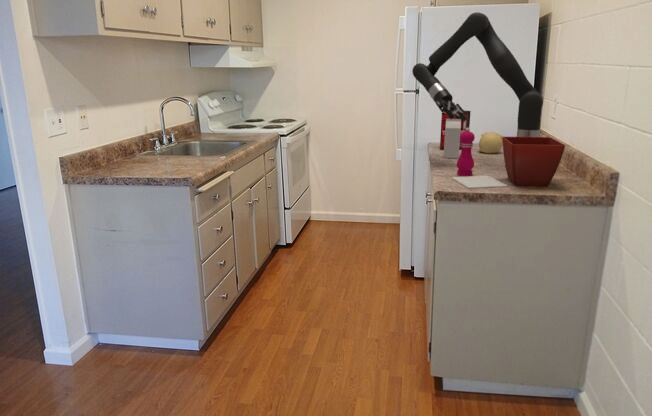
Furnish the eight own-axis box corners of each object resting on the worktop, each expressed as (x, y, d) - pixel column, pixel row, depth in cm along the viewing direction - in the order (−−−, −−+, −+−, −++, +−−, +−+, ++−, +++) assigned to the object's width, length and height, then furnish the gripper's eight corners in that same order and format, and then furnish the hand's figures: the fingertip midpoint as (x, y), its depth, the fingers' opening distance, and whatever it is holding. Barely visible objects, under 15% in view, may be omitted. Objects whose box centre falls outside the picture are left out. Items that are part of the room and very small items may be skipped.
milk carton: (458, 158, 249) (461, 119, 244) (443, 158, 251) (446, 119, 245) (458, 155, 256) (460, 118, 250) (443, 155, 257) (445, 118, 252)
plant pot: (560, 189, 190) (566, 144, 185) (508, 187, 192) (512, 144, 188) (546, 177, 208) (550, 136, 203) (498, 176, 211) (501, 136, 206)
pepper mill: (470, 177, 210) (474, 129, 204) (453, 175, 214) (456, 128, 208) (475, 173, 216) (479, 127, 210) (458, 172, 219) (462, 126, 214)
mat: (450, 178, 209) (450, 177, 209) (487, 176, 211) (487, 175, 211) (468, 188, 192) (468, 187, 192) (507, 186, 194) (508, 185, 194)
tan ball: (503, 151, 266) (505, 131, 263) (497, 155, 256) (499, 134, 253) (482, 150, 272) (483, 130, 269) (475, 153, 262) (477, 132, 259)
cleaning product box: (453, 145, 286) (455, 110, 280) (468, 147, 281) (470, 110, 275) (439, 149, 274) (441, 112, 268) (455, 151, 268) (457, 113, 263)
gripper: (435, 86, 222) (454, 110, 214) (455, 91, 231) (474, 114, 223) (425, 99, 227) (443, 123, 218) (445, 103, 236) (463, 127, 227)
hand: (459, 119), depth 221 cm, fingers open, 8 cm apart
